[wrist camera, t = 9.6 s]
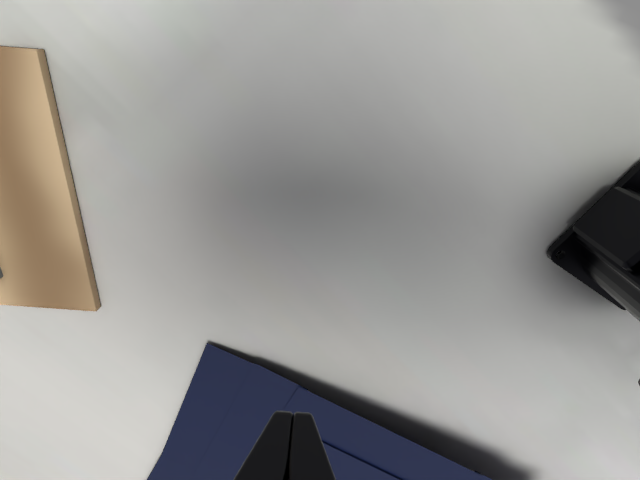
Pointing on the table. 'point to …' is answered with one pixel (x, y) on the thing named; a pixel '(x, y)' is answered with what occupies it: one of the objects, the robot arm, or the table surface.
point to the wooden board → (38, 195)
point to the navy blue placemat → (256, 410)
